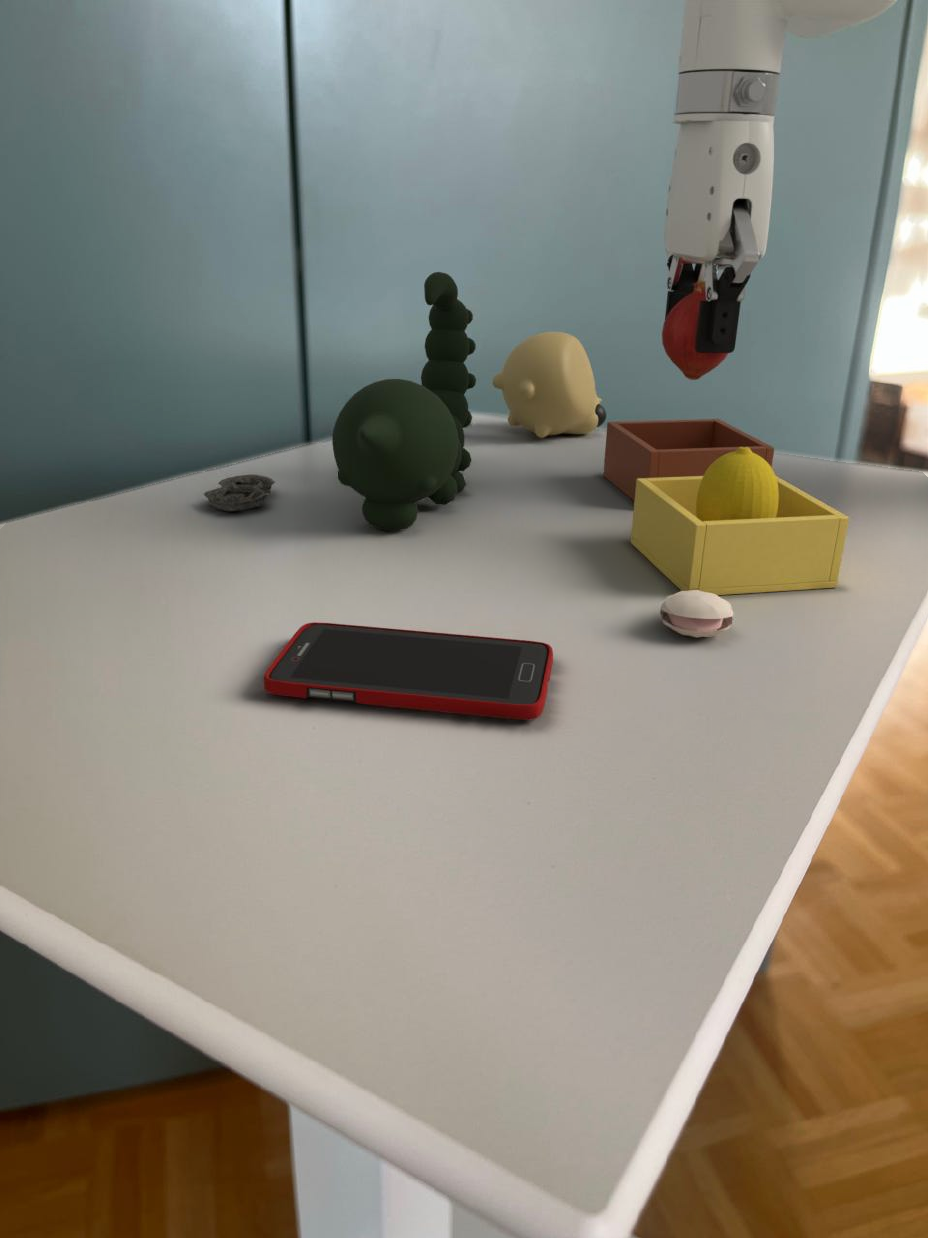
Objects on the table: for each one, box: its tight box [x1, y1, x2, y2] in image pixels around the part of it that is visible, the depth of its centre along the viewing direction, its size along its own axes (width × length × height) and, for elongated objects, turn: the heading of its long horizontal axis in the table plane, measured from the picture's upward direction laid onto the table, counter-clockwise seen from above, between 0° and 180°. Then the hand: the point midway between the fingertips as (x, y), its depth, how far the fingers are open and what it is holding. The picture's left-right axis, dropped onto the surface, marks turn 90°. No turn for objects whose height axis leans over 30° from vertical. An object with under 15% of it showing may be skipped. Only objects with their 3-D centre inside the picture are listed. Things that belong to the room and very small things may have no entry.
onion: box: [661, 280, 729, 381], centre depth 83 cm, size 6×6×8 cm
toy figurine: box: [331, 271, 477, 532], centre depth 79 cm, size 9×19×25 cm
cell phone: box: [263, 621, 554, 721], centre depth 54 cm, size 8×15×1 cm, turn 81°
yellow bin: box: [630, 475, 850, 596], centre depth 71 cm, size 11×11×5 cm
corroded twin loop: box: [204, 474, 276, 512], centre depth 83 cm, size 5×8×1 cm, turn 175°
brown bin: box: [603, 418, 775, 502], centre depth 87 cm, size 11×11×5 cm
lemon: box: [696, 447, 779, 522], centre depth 70 cm, size 6×6×8 cm
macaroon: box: [659, 590, 734, 639], centre depth 61 cm, size 4×5×2 cm
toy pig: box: [492, 331, 607, 439], centre depth 105 cm, size 10×12×11 cm
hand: (697, 343), depth 83 cm, fingers closed on onion, 5 cm apart
